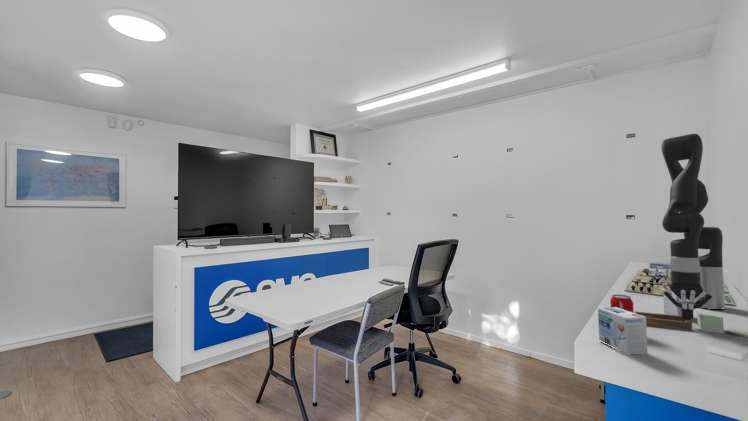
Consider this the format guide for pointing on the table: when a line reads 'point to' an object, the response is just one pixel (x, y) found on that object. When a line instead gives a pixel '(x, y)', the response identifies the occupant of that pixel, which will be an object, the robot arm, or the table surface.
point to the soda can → (622, 302)
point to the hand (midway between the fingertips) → (687, 319)
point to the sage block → (710, 322)
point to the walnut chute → (666, 321)
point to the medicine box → (671, 306)
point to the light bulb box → (623, 330)
